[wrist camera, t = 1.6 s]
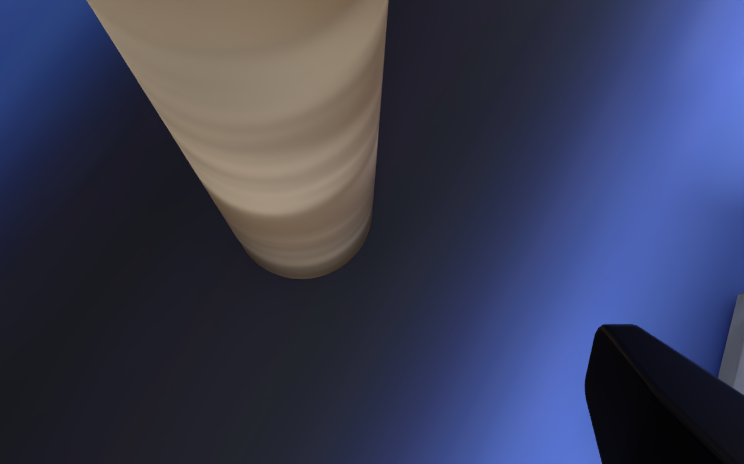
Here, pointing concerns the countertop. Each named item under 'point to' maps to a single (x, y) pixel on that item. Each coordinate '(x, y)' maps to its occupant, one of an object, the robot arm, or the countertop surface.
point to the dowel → (268, 113)
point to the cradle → (734, 350)
